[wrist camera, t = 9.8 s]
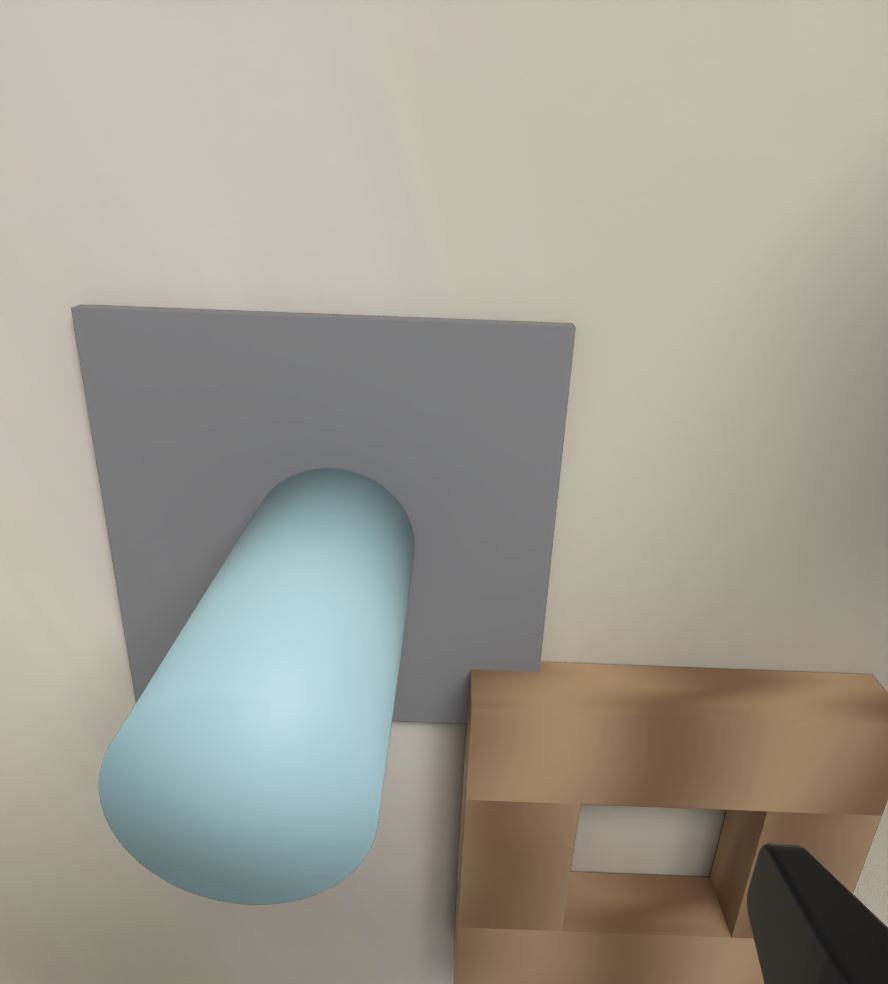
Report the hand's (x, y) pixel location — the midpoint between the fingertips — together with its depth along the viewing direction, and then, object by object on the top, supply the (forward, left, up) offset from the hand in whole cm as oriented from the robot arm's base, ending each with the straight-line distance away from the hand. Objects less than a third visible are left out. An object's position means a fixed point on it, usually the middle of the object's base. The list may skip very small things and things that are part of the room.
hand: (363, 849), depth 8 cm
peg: (+2, +2, -12) cm, 12 cm away
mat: (+2, +2, -12) cm, 12 cm away
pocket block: (-8, +12, -12) cm, 19 cm away
